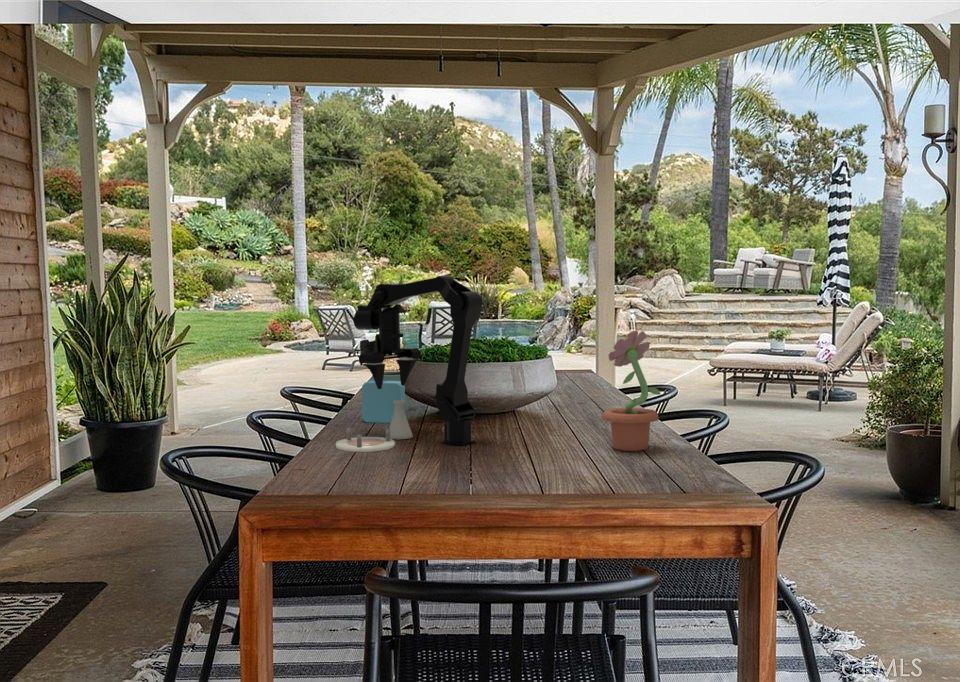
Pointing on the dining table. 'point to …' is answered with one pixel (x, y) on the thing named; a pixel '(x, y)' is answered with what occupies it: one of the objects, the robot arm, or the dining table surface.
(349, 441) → the pin cradle
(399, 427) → the flask
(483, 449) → the dining table surface
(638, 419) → the decorative flower
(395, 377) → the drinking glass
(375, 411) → the blue rounded slab
